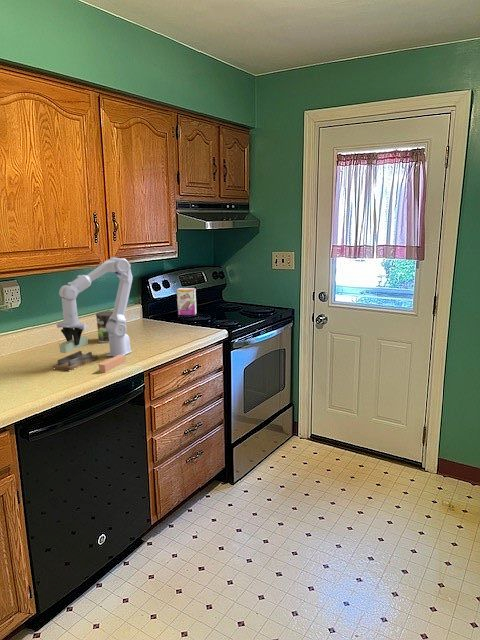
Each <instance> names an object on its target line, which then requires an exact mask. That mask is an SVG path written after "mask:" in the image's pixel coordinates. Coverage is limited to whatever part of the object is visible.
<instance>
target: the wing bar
mask: <svg viewBox="0 0 480 640" xmlns="http://www.w3.org/2000/svg"><path fill="white" fill-rule="evenodd" d="M125 363H126V355H117V356H115V357H113V356H112V357H111V358H109V359H107V360H105V361H103V362H101V363H99V364H98V370H99V371H98V372H99V373H104V374H105V373H107V372H110V371H112V370H114V369H115V368H117V367H119V366H121V365H123V364H125Z"/></svg>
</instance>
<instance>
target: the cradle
mask: <svg viewBox="0 0 480 640" xmlns="http://www.w3.org/2000/svg"><path fill="white" fill-rule="evenodd" d="M98 358H99V357H98V355H97V354H93V352H92V351H89V352H87V353H83V351H82V350H78V351H76V352H73V353H71V354H69V355H67V356H64V357H61V358H60V359H57V363H56V364H54V365H52V369H53V368H55V369H54V370H56V369H61V370H60V371H64V370H72V369H74V368H76V369H78V368H80V367H82V366H84V364H85V365H86V363H87V364H88V363H91V362H93V361H95V360H98ZM81 365H82V366H81ZM79 366H80V367H79ZM77 367H78V368H77ZM74 370H75V369H74ZM72 371H73V370H72Z"/></svg>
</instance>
